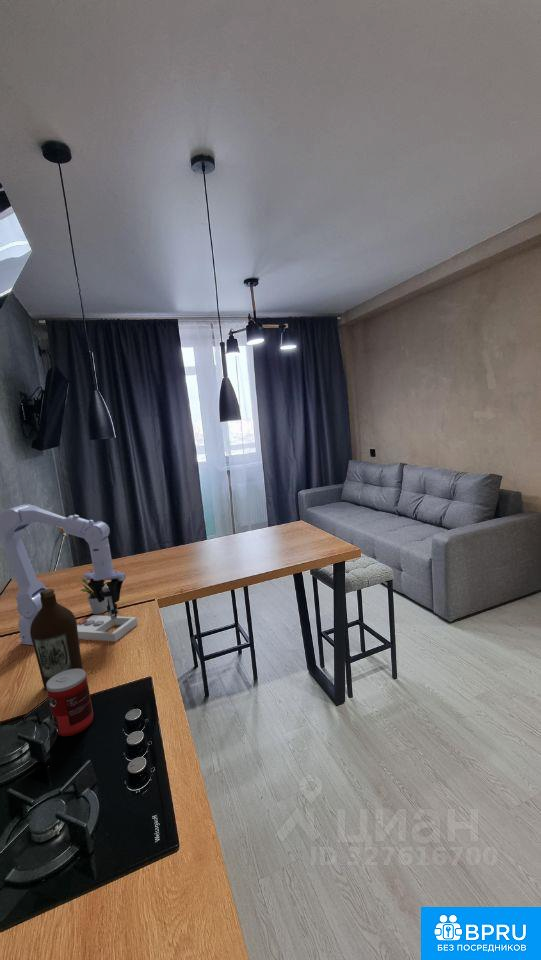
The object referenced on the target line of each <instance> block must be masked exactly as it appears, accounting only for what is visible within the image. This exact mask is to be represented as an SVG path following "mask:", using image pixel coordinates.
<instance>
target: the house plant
mask: <svg viewBox="0 0 541 960" xmlns="http://www.w3.org/2000/svg"><path fill="white" fill-rule="evenodd" d="M115 569H116V567H113V570H115ZM92 572H94V570H92V569H90V570H89V573H92ZM76 578H78V579H80V581H81V582H82V583H84V584H82V586H83V587H84V588H82V589H80V591H81V592H82V593H87V594H89V595H88V596H87V602H88V603H89V606H90V609H91V611H92V614H93V615H99V614H100V615H101V614H104V613H106V612H107V611H108V610H107V606H108V601H107V598H105V600H104V601H102V602H98V600H97V598H96V596H95V594H94V592H93V591H92V590H91V588H90V587H89V586H88V583H89V582H88V580H87V581H85V578H82V577H80V576H76ZM109 582H110V581H107V582H106V580H104V586H106V585H107V583H109Z"/></svg>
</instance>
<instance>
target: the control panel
mask: <svg viewBox="0 0 541 960" xmlns="http://www.w3.org/2000/svg"><path fill="white" fill-rule="evenodd" d="M114 626H119V627H117V628H116V629H115V630H114V631H108V630H110V629H111V628H112V627H114ZM136 626H138V616H137V617H136V616H121V615H120V616H118V615H117V618H115V619H111V616H110V615H99V614H93V615H91V616H90V617H88V618H86V619H82V620H81V621H79V622H78V624H77V630H78V639H79V640H89V641H92V640H93V641H103V642H104V641H105V642H117V641H119V640H120V639H121V638H122V637H124V636H125V635H126V634H128V633H129V632H130V631H132V630H133V629H134V628H135V627H136Z"/></svg>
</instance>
